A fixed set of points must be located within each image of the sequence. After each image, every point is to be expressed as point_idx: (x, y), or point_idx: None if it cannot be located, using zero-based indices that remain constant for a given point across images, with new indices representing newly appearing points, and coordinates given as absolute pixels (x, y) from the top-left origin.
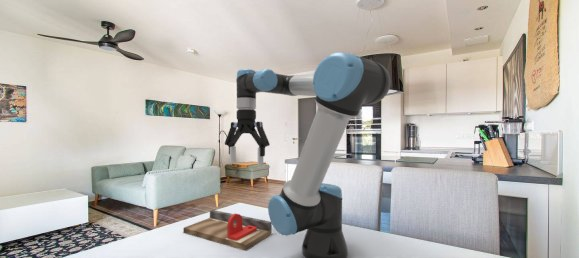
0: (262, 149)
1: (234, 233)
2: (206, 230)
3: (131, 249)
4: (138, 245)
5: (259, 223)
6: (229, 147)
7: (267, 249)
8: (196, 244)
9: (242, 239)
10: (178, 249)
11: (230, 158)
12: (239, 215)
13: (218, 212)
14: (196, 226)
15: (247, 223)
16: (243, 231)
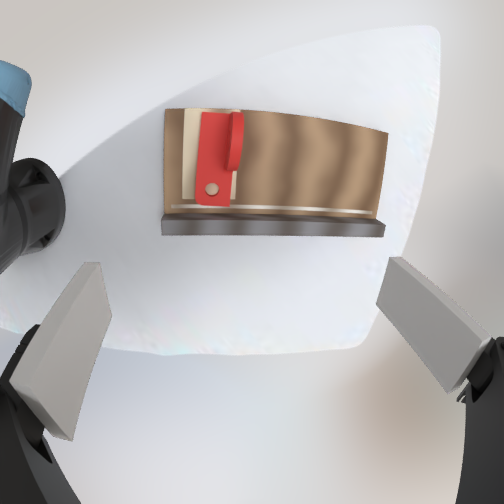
0: (4, 376)
1: (227, 132)
2: (327, 137)
3: (398, 38)
4: (403, 54)
5: (196, 218)
6: (489, 340)
7: (125, 144)
8: (306, 85)
9: (193, 127)
10: (322, 53)
11: (418, 275)
12: (229, 158)
13: (359, 226)
14: (368, 151)
15: (242, 216)
16: (212, 157)
